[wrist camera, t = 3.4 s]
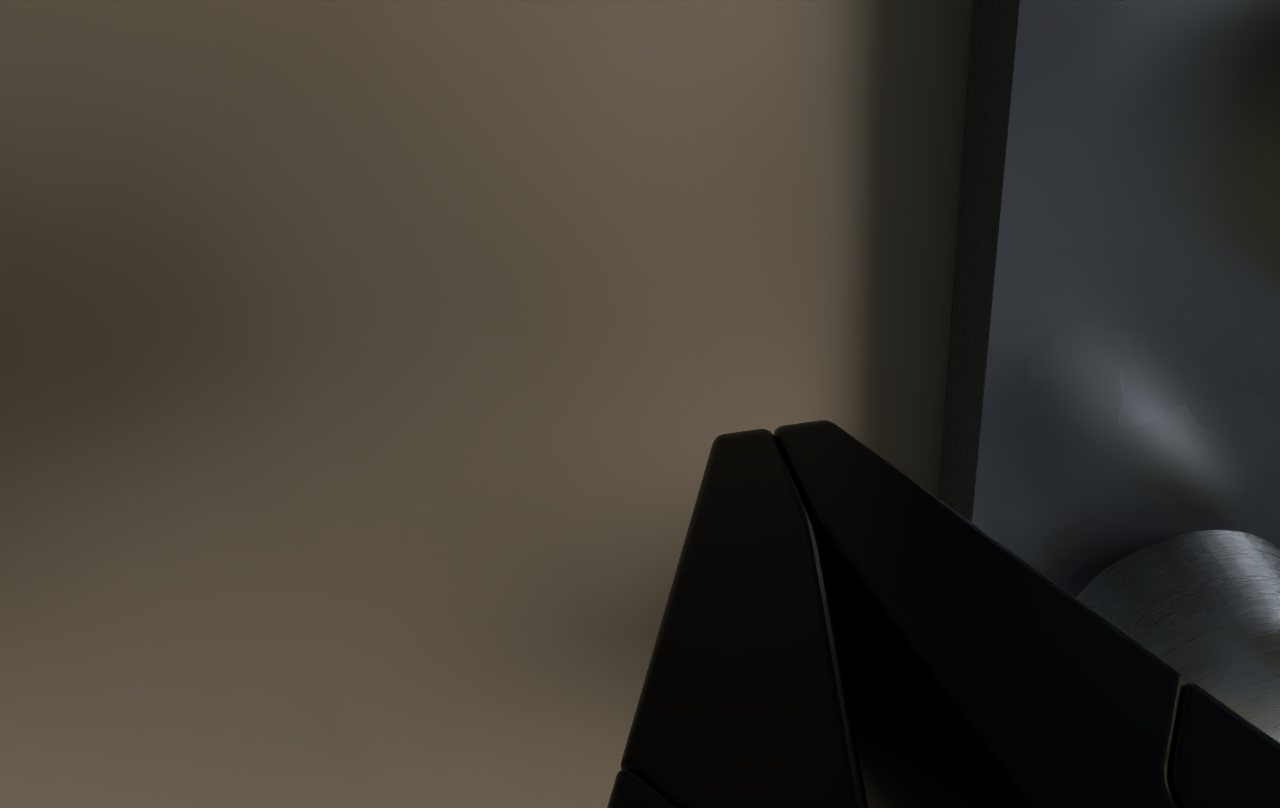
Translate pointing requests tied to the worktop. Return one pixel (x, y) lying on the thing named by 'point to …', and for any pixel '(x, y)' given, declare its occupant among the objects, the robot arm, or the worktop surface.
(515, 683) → the worktop surface
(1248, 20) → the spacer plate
